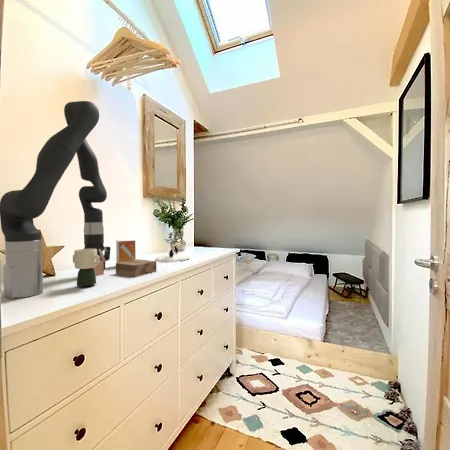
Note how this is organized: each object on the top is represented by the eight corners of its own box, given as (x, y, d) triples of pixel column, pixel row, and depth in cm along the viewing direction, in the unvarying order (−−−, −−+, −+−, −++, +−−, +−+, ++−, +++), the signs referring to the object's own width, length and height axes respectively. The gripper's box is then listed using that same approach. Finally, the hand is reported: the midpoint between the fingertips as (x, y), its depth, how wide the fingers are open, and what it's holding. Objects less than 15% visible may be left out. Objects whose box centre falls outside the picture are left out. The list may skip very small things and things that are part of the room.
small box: (119, 267, 127) (118, 241, 127) (116, 265, 132) (115, 240, 132) (136, 266, 131) (135, 240, 131) (132, 264, 137) (132, 239, 136)
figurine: (170, 254, 164) (169, 229, 162) (195, 256, 156) (194, 229, 154) (148, 263, 146) (146, 234, 144) (175, 265, 138) (173, 235, 136)
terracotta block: (92, 276, 108) (92, 262, 108) (85, 275, 111) (85, 261, 111) (103, 274, 113) (103, 260, 112) (97, 273, 115) (96, 259, 115)
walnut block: (135, 277, 107) (135, 265, 107) (115, 274, 113) (115, 263, 113) (156, 272, 118) (156, 261, 117) (137, 269, 124) (137, 259, 123)
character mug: (106, 284, 96) (105, 248, 95) (92, 289, 89) (91, 251, 88) (81, 282, 98) (80, 248, 98) (65, 287, 91) (64, 250, 91)
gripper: (81, 234, 103) (82, 276, 104) (114, 232, 115) (115, 270, 116) (71, 233, 107) (72, 274, 108) (104, 232, 119) (105, 268, 120)
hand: (94, 272), depth 112 cm, fingers open, 6 cm apart
